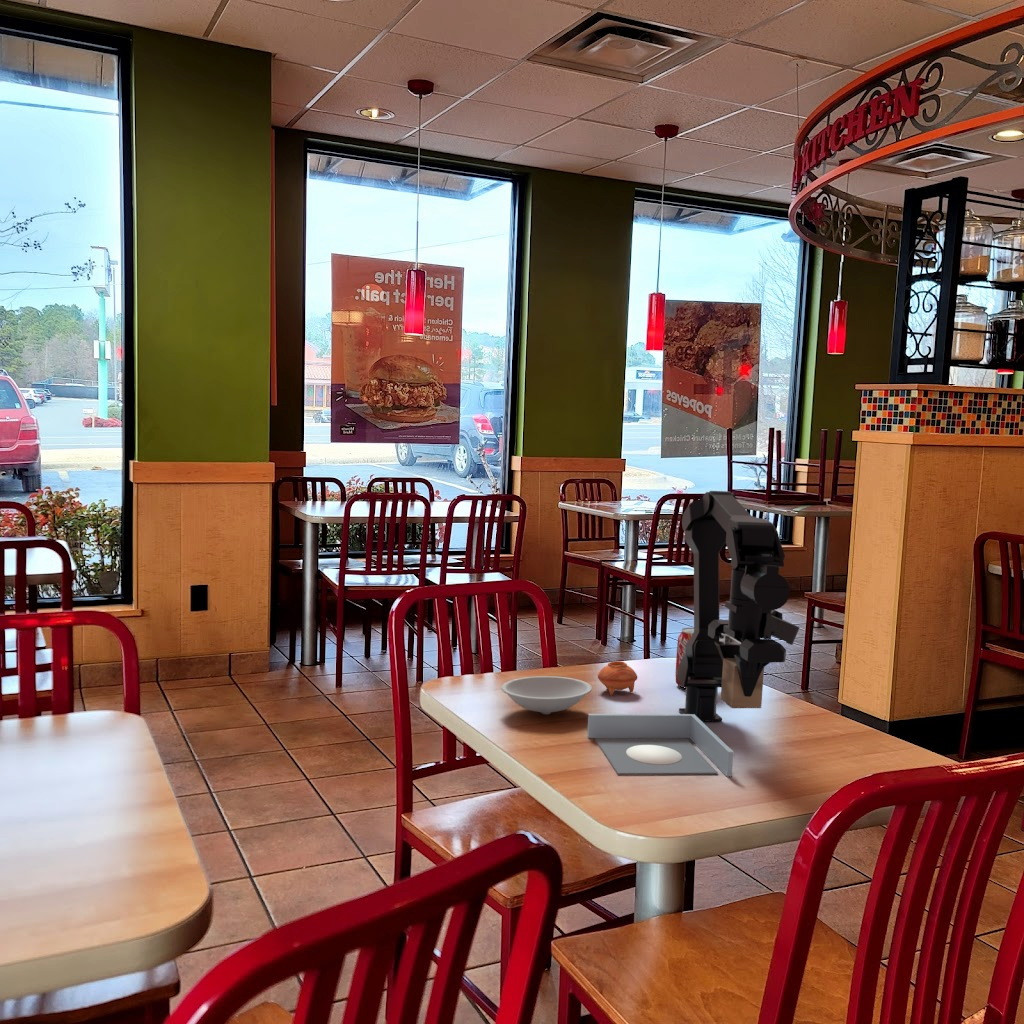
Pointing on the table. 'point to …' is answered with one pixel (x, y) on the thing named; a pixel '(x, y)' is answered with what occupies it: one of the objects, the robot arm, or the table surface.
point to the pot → (617, 676)
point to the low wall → (663, 732)
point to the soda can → (682, 646)
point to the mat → (654, 756)
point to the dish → (546, 692)
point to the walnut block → (738, 687)
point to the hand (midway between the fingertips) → (741, 691)
